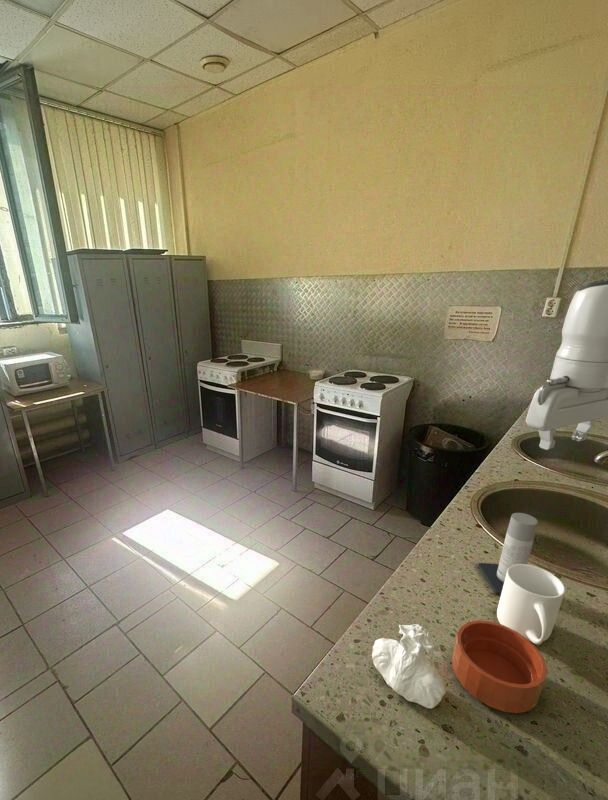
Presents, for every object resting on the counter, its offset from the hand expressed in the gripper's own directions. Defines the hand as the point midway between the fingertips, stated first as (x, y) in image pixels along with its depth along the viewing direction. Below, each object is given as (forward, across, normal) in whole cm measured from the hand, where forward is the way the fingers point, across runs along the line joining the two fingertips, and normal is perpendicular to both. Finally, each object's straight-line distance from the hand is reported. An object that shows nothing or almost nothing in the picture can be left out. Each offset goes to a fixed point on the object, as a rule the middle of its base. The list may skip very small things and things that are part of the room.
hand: (562, 444), depth 76 cm
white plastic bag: (+31, -42, -9) cm, 54 cm away
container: (+30, -6, 0) cm, 31 cm away
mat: (+31, -6, 0) cm, 32 cm away
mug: (+31, -15, -10) cm, 36 cm away
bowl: (+31, -29, -14) cm, 45 cm away
